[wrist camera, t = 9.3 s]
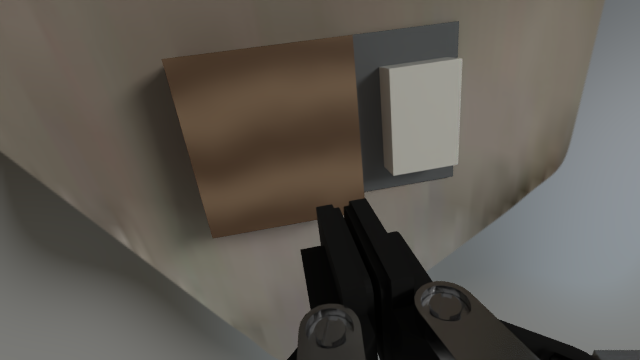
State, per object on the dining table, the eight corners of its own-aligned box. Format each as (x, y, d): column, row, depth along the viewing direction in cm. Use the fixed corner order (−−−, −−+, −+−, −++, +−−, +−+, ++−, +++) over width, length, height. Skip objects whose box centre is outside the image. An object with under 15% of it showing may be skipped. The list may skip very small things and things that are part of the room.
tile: (462, 58, 26) (446, 57, 29) (389, 68, 26) (379, 66, 28) (457, 164, 30) (444, 156, 32) (393, 175, 29) (384, 166, 31)
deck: (176, 57, 26) (161, 59, 22) (340, 36, 27) (352, 34, 23) (218, 215, 31) (212, 238, 27) (354, 192, 32) (365, 210, 29)
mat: (340, 36, 27) (341, 36, 27) (457, 21, 28) (459, 21, 28) (354, 192, 32) (354, 193, 32) (451, 175, 33) (452, 176, 33)
